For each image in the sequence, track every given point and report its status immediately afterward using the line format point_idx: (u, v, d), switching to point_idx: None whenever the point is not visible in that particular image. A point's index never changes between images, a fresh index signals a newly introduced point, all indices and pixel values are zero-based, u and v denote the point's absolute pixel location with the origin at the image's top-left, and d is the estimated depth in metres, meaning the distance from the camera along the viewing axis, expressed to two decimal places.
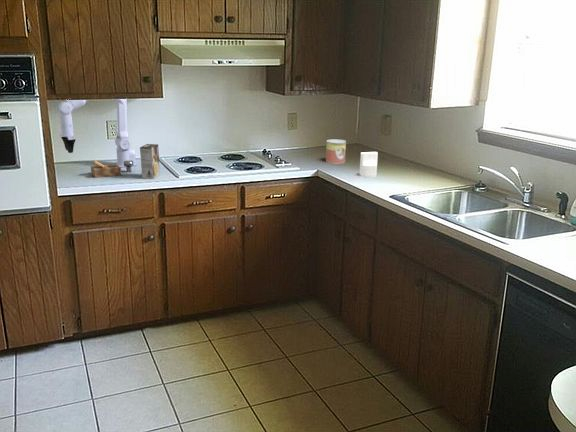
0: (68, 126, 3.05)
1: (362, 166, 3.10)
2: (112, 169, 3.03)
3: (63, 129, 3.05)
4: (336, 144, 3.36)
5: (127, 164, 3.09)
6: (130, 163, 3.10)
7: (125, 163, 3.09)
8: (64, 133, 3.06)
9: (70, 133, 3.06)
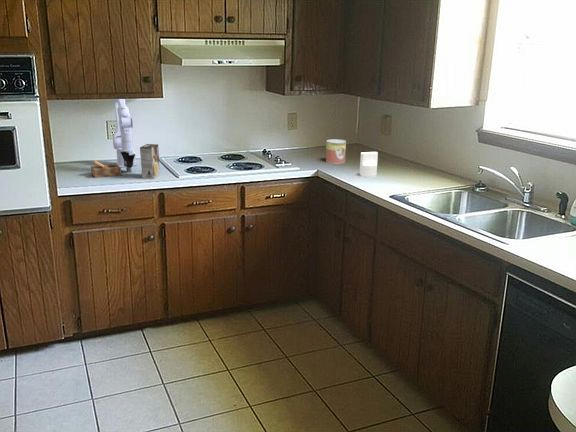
0: (128, 141, 3.06)
1: (362, 166, 3.10)
2: (112, 169, 3.03)
3: (123, 144, 3.06)
4: (336, 144, 3.36)
5: None
6: None
7: (125, 163, 3.09)
8: (124, 148, 3.06)
9: (130, 148, 3.07)
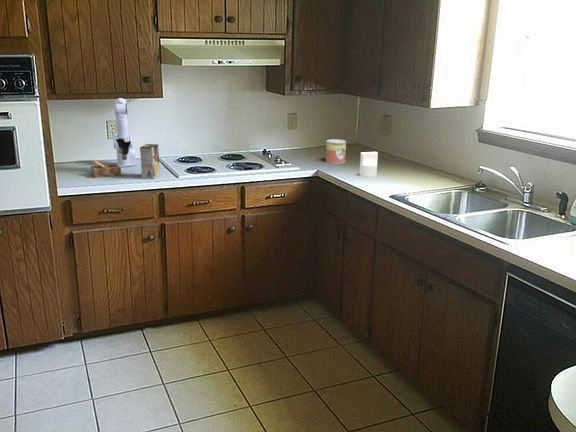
0: (124, 128, 3.03)
1: (362, 166, 3.10)
2: (112, 169, 3.03)
3: (119, 131, 3.03)
4: (336, 144, 3.36)
5: None
6: None
7: (121, 150, 3.06)
8: (120, 135, 3.03)
9: (126, 135, 3.04)
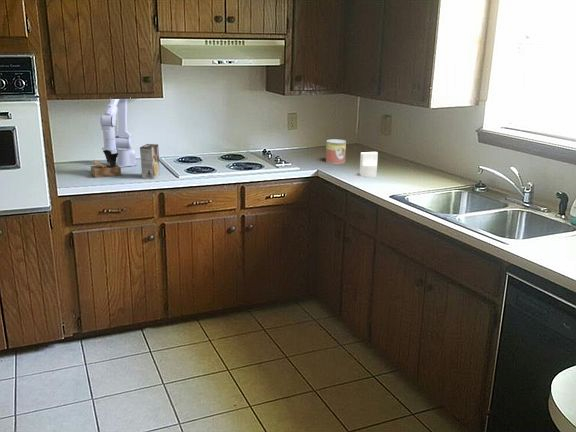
0: (111, 140, 3.00)
1: (362, 166, 3.10)
2: (112, 169, 3.03)
3: (106, 143, 3.00)
4: (336, 144, 3.36)
5: None
6: None
7: (108, 164, 3.04)
8: (107, 147, 3.01)
9: (113, 147, 3.02)
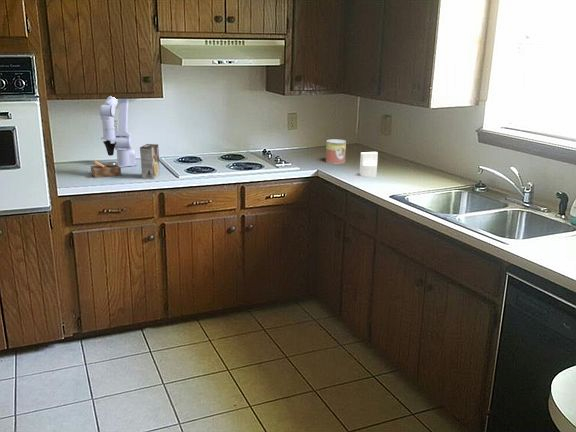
0: (110, 129, 2.99)
1: (362, 166, 3.10)
2: (112, 169, 3.03)
3: (105, 132, 2.99)
4: (336, 144, 3.36)
5: (110, 165, 3.04)
6: (113, 164, 3.05)
7: (108, 164, 3.04)
8: (106, 136, 2.99)
9: (112, 136, 3.00)
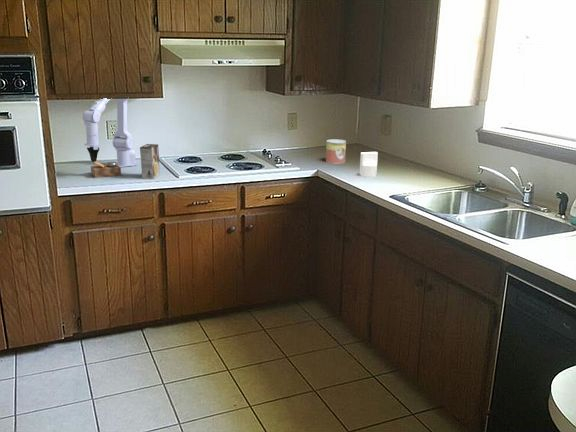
0: (94, 135, 2.96)
1: (362, 166, 3.10)
2: (112, 169, 3.03)
3: (88, 138, 2.96)
4: (336, 144, 3.36)
5: (110, 165, 3.04)
6: (113, 164, 3.05)
7: (108, 164, 3.04)
8: (89, 143, 2.96)
9: (95, 143, 2.97)
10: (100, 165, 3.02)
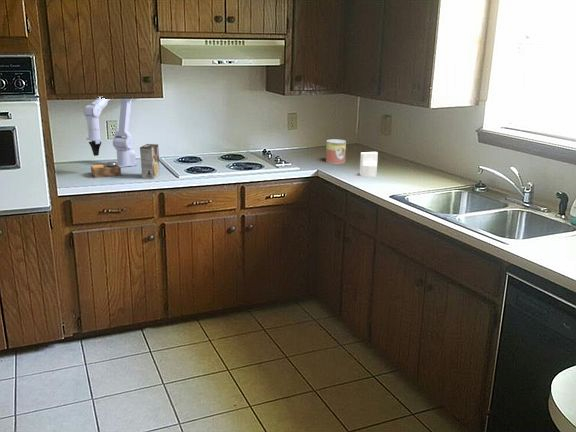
0: (95, 130, 2.99)
1: (362, 166, 3.10)
2: (112, 169, 3.03)
3: (90, 133, 2.99)
4: (336, 144, 3.36)
5: (110, 165, 3.04)
6: (113, 164, 3.05)
7: (108, 164, 3.04)
8: (91, 137, 3.00)
9: (97, 137, 3.00)
10: (99, 167, 3.02)
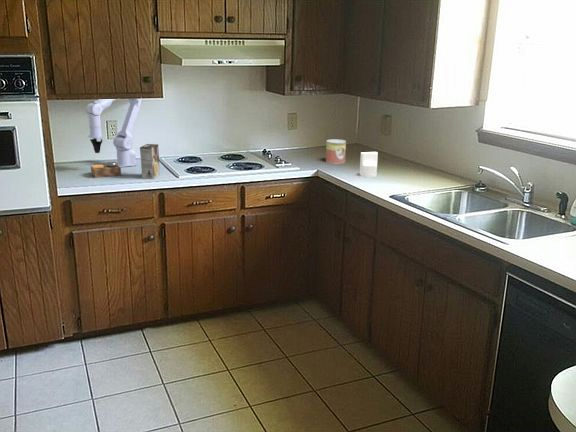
0: (96, 128, 3.06)
1: (362, 166, 3.10)
2: (112, 169, 3.03)
3: (92, 130, 3.06)
4: (336, 144, 3.36)
5: (110, 165, 3.04)
6: (113, 164, 3.05)
7: (108, 164, 3.04)
8: (92, 134, 3.07)
9: (98, 134, 3.08)
10: (99, 167, 3.02)
